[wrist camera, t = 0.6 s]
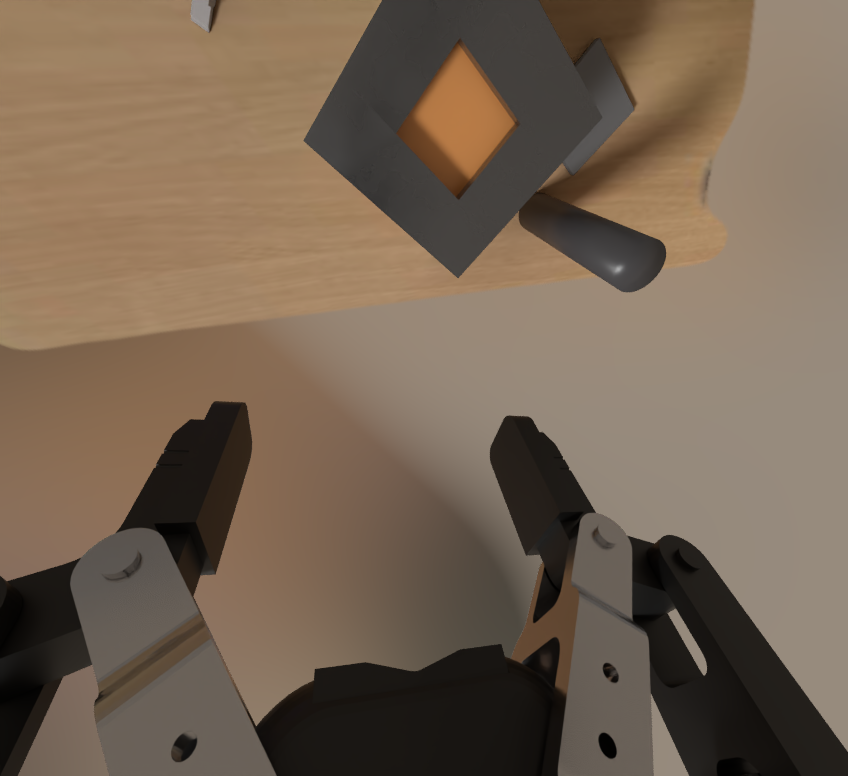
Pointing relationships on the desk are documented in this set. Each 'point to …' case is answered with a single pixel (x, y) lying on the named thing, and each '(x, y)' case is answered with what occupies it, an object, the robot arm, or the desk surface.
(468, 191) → the grey boxy frame
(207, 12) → the caliper
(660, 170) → the desk surface
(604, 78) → the pad
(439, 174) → the button
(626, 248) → the handle
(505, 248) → the desk surface
